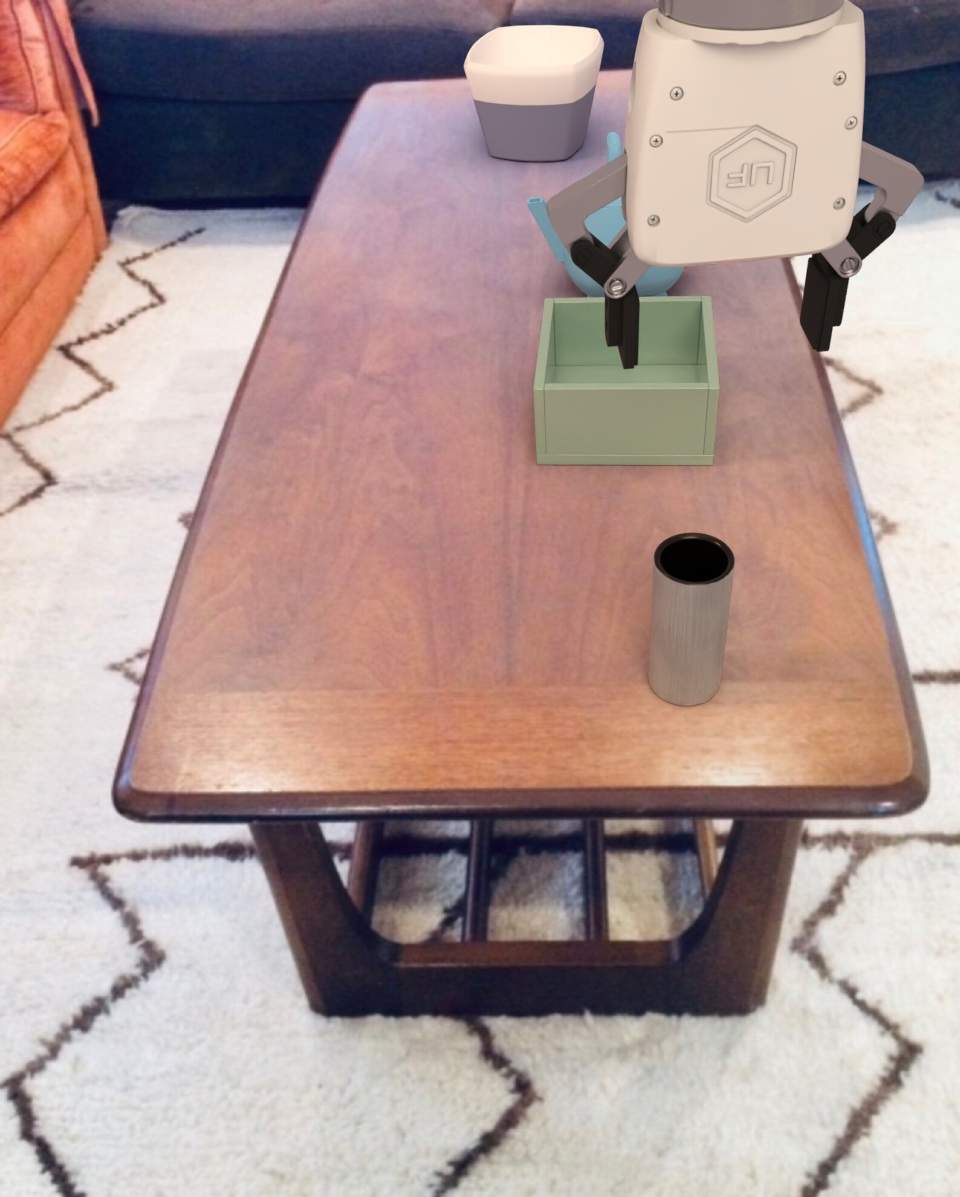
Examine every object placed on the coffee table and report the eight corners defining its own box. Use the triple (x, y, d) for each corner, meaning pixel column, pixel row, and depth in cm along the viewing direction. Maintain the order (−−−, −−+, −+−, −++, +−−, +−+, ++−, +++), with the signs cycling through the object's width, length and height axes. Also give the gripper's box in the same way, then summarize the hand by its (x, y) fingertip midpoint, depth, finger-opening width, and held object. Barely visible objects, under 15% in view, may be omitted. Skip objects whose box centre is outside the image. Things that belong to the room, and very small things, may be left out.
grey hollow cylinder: (718, 654, 70) (732, 531, 63) (723, 708, 67) (737, 585, 60) (647, 652, 71) (652, 530, 64) (648, 706, 68) (654, 584, 60)
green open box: (705, 369, 94) (711, 295, 89) (712, 465, 84) (719, 388, 80) (547, 370, 96) (544, 297, 91) (536, 465, 86) (533, 389, 81)
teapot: (514, 286, 107) (509, 172, 99) (610, 236, 113) (612, 125, 105) (632, 340, 98) (636, 219, 91) (729, 283, 105) (740, 165, 97)
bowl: (457, 166, 129) (449, 67, 121) (494, 117, 139) (488, 22, 132) (585, 173, 125) (585, 70, 117) (613, 122, 135) (614, 24, 128)
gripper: (548, 25, 42) (559, 402, 54) (1001, -18, 42) (912, 371, 54) (532, -28, 47) (545, 325, 59) (933, -67, 47) (866, 296, 59)
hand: (719, 346), depth 56 cm, fingers open, 9 cm apart
